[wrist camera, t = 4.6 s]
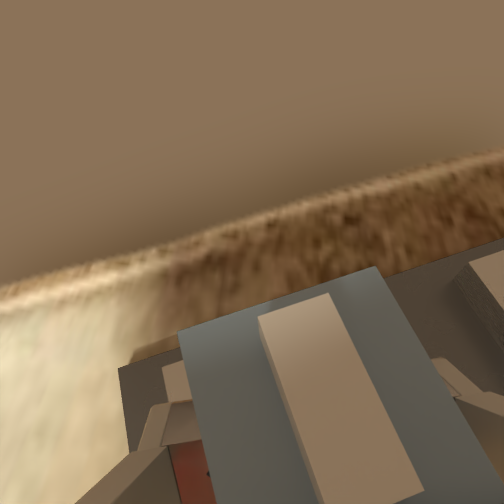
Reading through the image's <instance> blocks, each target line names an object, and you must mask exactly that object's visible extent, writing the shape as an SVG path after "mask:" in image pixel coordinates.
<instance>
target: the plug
mask: <svg viewBox="0 0 504 504" xmlns="http://www.w3.org/2000/svg"><path fill="white" fill-rule="evenodd" d="M177 335H178V340H179V344H180V348H181V353H182V357H183V361H184V366H185V370H186V374H187V378H188V383H189V387H190V391H191V396H192V400H193V404H194V408H195V413H196V417H197V421H198V426H199V430H200V434H201V439H202V443H203V447H204V451H205V456H206V460H207V464H208V469H209V473H210V477H211V481H212V486H213V490H214V494H215V499H216V503H217V504H502V503H504V484H503V482H502V480H501V479H500V477H499V475H498V474H497V472H496V470H495V468H494V467H493V465H492V463H491V462H490V460H489V458H488V457H487V455H486V453H485V451H484V450H483V448H482V446H481V445H480V443H479V441H478V439H477V438H476V436H475V434H474V433H473V431H472V429H471V428H470V426H469V424H468V422H467V421H466V419H465V417H464V416H463V414H462V412H461V410H460V409H459V407H458V405H457V404H456V402H455V400H454V399H453V397H452V395H451V393H450V392H449V390H448V388H447V387H446V385H445V383H444V381H443V380H442V378H441V376H440V375H439V373H438V371H437V370H436V368H435V366H434V364H433V363H432V361H431V359H430V358H429V356H428V354H427V352H426V351H425V349H424V347H423V346H422V344H421V342H420V341H419V339H418V337H417V335H416V334H415V332H414V330H413V329H412V327H411V325H410V323H409V322H408V320H407V318H406V317H405V315H404V313H403V311H402V310H401V308H400V306H399V305H398V303H397V301H396V300H395V298H394V296H393V294H392V293H391V291H390V289H389V288H388V286H387V284H386V282H385V281H384V279H383V277H382V276H381V274H380V272H379V271H378V269H377V267H376V266H373V267H370V268H367V269H364V270H361V271H358V272H355V273H352V274H349V275H346V276H343V277H340V278H337V279H334V280H331V281H328V282H325V283H322V284H319V285H316V286H313V287H310V288H307V289H304V290H301V291H298V292H294V293H291V294H288V295H285V296H282V297H279V298H276V299H273V300H270V301H267V302H264V303H261V304H258V305H255V306H252V307H249V308H246V309H243V310H240V311H237V312H234V313H231V314H228V315H225V316H222V317H219V318H216V319H213V320H210V321H207V322H204V323H201V324H198V325H195V326H192V327H189V328H186V329H183V330H180V331H177Z"/></svg>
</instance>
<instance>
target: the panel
mask: <svg viewBox="0 0 504 504" xmlns="http://www.w3.org/2000/svg"><path fill="white" fill-rule="evenodd" d="M383 279H384V281H385V282H386V284H387V286H388V288H389V289H390V291H391V293H392V294H393V296H394V298H395V300H396V301H397V303H398V305H399V306H400V308H401V310H402V311H403V313H404V315H405V317H406V318H407V320H408V322H409V323H410V325H411V327H412V329H413V330H414V332H415V334H416V335H417V337H418V339H419V341H420V342H421V344H422V346H423V347H424V349H425V351H426V352H427V354H428V356H429V358H430V359H433V358H438V357H443V358H445V359H447V360H448V361H449V362H450V363H451V364H452V365H453V366H454V367H456V368H457V369H458V370H459V371H460V372H461V373H462V374H463V375H465V376H466V377H467V378H468V379H469V380H470V381H471V382H472V383H474V384H475V385H476V386H477V387H478V388H479V389H480V390H481V391H483V392H489V391H490V392H493V393H496V394H499V395H502V396H504V238H502V239H499V240H496V241H493V242H490V243H487V244H484V245H481V246H478V247H475V248H472V249H469V250H466V251H463V252H460V253H457V254H454V255H451V256H448V257H445V258H442V259H440V260H437V261H434V262H431V263H428V264H425V265H422V266H419V267H416V268H413V269H410V270H407V271H404V272H401V273H398V274H395V275H392V276H389V277H386V278H383ZM118 373H119V381H120V388H121V395H122V402H123V410H124V417H125V424H126V431H127V439H128V446H129V453H131V452H134V451H137V450H138V447H139V443H140V440H141V437H142V434H143V431H144V428H145V425H146V422H147V418H148V415H149V412H150V409H151V407H152V406H153V405H157V404H162V403H168V402H175V401H182V400H189V399H192V396H191V391H190V387H189V383H188V378H187V374H186V370H185V366H184V361H183V357H182V353H181V348H180V347H179V348H176V349H173V350H170V351H167V352H165V353H162V354H159V355H156V356H153V357H150V358H147V359H144V360H141V361H138V362H135V363H132V364H129V365H126V366H123V367H120V368H118ZM502 504H504V503H502Z"/></svg>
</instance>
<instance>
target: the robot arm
mask: <svg viewBox="0 0 504 504" xmlns="http://www.w3.org/2000/svg"><path fill="white" fill-rule="evenodd" d="M431 361H432V363H433V364H434V366H435V368H436V370H437V371H438V373H439V375H440V376H441V378H442V380H443V381H444V383H445V385H446V387H447V388H448V390H449V392H450V393H451V395H452V397H453V399H454V400H455V402H456V404H457V405H458V407H459V409H460V410H461V412H462V414H463V416H464V417H465V419H466V421H467V422H468V424H469V426H470V428H471V429H472V431H473V433H474V434H475V436H476V438H477V439H478V441H479V443H480V445H481V446H482V448H483V450H484V451H485V453H486V455H487V457H488V458H489V460H490V462H491V463H492V465H493V467H494V468H495V470H496V472H497V474H498V475H499V477H500V479H501V480H502V482H503V484H504V396H502V395H499V394H496V393H493V392H490V391H489V392H483V391H481V390H480V389H479V388H478V387H477V386H476V385H475V384H474V383H472V382H471V381H470V380H469V379H468V378H467V377H466V376H465V375H463V374H462V373H461V372H460V371H459V370H458V369H457V368H456V367H454V366H453V365H452V364H451V363H450V362H449V361H448V360H447V359H445V358H443V357H438V358H433V359H431ZM75 504H217V503H216V499H215V494H214V490H213V486H212V481H211V477H210V473H209V469H208V464H207V460H206V456H205V451H204V447H203V443H202V439H201V434H200V430H199V426H198V421H197V417H196V413H195V408H194V404H193V400H192V399H189V400H182V401H175V402H168V403H162V404H157V405H153V406H152V407H151V409H150V412H149V415H148V418H147V422H146V425H145V428H144V431H143V434H142V437H141V440H140V443H139V447H138V450H137V451H134V452H131V453H130V454H128V455H127V456H126V457H125V458H124V459H123V460H122V461H121V462H120V463H119V464H118V465H116V466H115V467H114V468H113V469H112V470H111V471H110V472H109V473H108V474H107V475H106V476H104V477H103V478H102V479H101V480H100V481H99V482H98V483H97V484H96V485H95V486H94V487H92V488H91V489H90V490H89V491H88V492H87V493H86V494H85V495H84V496H83V497H82V498H81V499H79V500H78V501H77V502H76V503H75Z"/></svg>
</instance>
